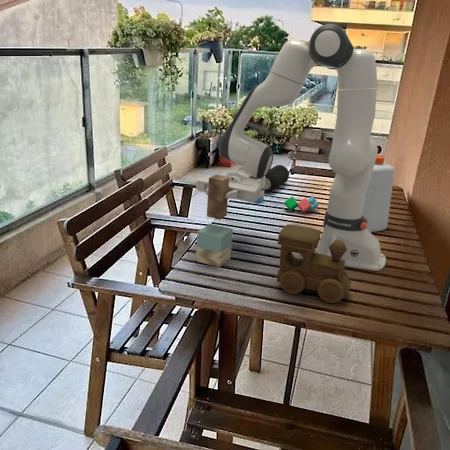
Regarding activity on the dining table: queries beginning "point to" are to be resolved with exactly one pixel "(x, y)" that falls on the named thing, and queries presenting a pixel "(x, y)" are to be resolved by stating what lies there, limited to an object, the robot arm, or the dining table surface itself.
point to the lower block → (213, 256)
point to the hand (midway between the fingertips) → (216, 194)
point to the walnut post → (217, 197)
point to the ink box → (261, 192)
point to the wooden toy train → (311, 264)
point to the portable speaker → (275, 178)
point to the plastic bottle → (378, 196)
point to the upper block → (214, 238)
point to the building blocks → (301, 204)
